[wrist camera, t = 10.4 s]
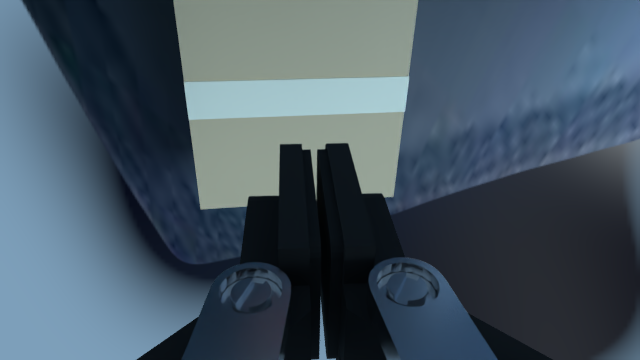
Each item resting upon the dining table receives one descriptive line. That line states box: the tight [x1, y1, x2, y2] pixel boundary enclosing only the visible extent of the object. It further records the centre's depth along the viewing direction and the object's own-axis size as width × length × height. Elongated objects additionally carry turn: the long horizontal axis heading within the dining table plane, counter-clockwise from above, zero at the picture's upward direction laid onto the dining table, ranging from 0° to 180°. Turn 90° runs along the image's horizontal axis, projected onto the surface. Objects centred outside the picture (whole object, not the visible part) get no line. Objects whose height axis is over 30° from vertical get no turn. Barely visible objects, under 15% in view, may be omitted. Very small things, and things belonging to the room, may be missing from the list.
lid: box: [173, 0, 418, 209], centre depth 29 cm, size 14×16×1 cm
